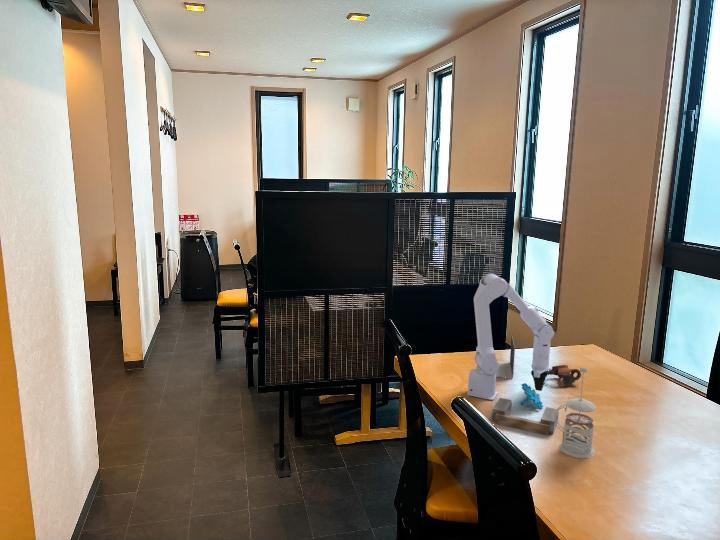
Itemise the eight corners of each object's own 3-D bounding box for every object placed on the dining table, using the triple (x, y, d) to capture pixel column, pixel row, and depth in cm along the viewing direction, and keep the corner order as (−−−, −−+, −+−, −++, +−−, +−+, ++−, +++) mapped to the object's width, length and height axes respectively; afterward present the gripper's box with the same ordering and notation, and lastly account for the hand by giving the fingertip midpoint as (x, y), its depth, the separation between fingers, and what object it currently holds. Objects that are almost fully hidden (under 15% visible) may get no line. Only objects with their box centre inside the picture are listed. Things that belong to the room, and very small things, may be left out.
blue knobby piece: (542, 409, 174) (522, 385, 177) (528, 419, 176) (508, 394, 179) (546, 401, 184) (527, 378, 187) (533, 411, 186) (514, 388, 189)
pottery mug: (551, 388, 198) (546, 366, 201) (550, 390, 206) (546, 369, 209) (584, 383, 195) (579, 361, 198) (583, 386, 203) (577, 365, 206)
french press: (592, 461, 145) (600, 376, 141) (549, 450, 151) (555, 368, 147) (597, 446, 153) (605, 365, 149) (556, 436, 159) (562, 358, 155)
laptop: (480, 361, 226) (482, 332, 224) (510, 364, 223) (512, 334, 221) (480, 376, 209) (482, 345, 206) (513, 379, 206) (515, 347, 204)
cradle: (490, 422, 168) (491, 410, 168) (499, 408, 178) (499, 397, 178) (552, 436, 159) (553, 423, 159) (558, 421, 170) (558, 409, 169)
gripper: (549, 362, 181) (547, 399, 183) (555, 350, 193) (553, 385, 196) (528, 358, 184) (526, 395, 186) (536, 347, 197) (533, 381, 199)
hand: (538, 389), depth 191 cm, fingers closed
